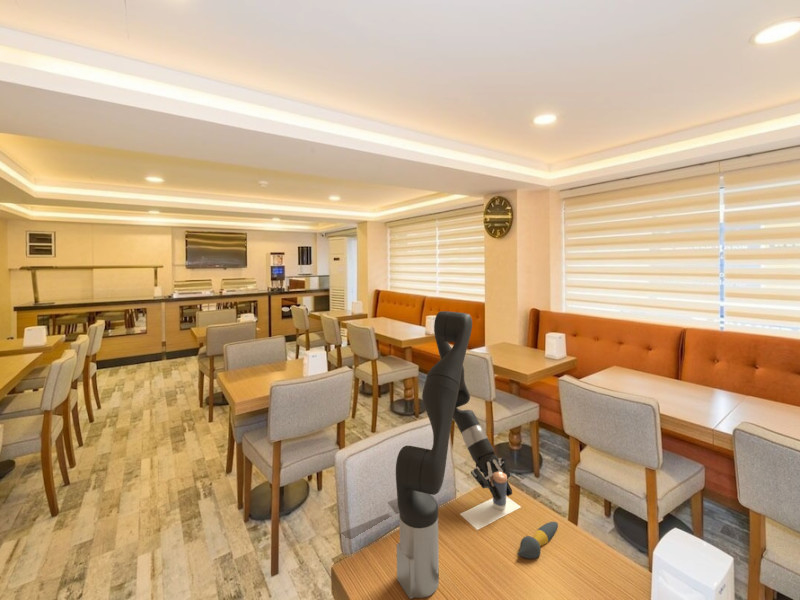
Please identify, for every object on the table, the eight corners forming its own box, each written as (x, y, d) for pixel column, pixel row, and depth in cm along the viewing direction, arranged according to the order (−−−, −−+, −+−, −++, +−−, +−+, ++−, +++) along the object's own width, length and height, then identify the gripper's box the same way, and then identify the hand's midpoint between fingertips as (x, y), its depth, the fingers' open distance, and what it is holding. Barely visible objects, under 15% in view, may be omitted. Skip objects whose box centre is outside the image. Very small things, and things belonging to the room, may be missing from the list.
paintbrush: (543, 521, 105) (544, 505, 105) (561, 529, 102) (561, 513, 101) (512, 562, 91) (513, 544, 90) (531, 573, 88) (532, 555, 87)
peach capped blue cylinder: (499, 512, 107) (500, 481, 106) (489, 504, 110) (490, 474, 109) (509, 507, 109) (509, 477, 108) (499, 500, 112) (500, 470, 111)
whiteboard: (476, 537, 99) (476, 532, 99) (455, 518, 107) (455, 513, 107) (525, 511, 109) (525, 507, 109) (503, 495, 117) (503, 491, 117)
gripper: (466, 443, 111) (494, 502, 101) (499, 432, 118) (528, 486, 109) (455, 452, 116) (481, 509, 106) (487, 441, 123) (514, 493, 114)
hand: (504, 497), depth 108 cm, fingers closed on peach capped blue cylinder, 4 cm apart
